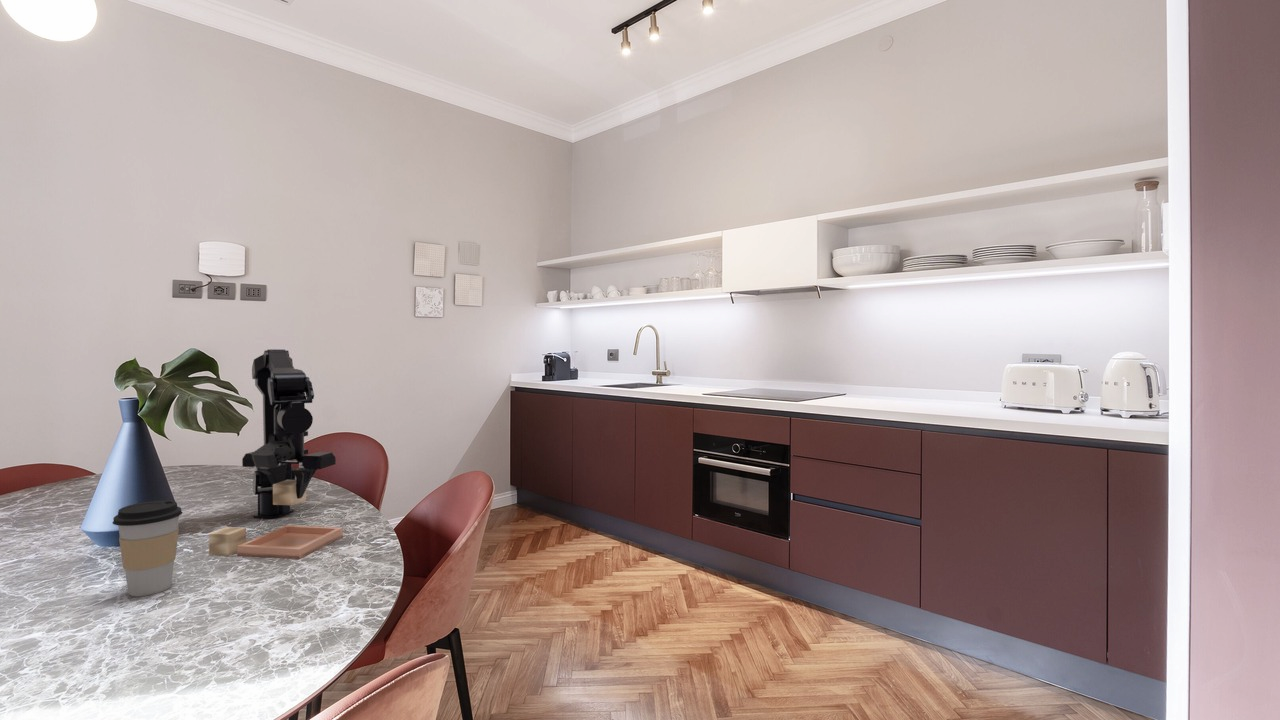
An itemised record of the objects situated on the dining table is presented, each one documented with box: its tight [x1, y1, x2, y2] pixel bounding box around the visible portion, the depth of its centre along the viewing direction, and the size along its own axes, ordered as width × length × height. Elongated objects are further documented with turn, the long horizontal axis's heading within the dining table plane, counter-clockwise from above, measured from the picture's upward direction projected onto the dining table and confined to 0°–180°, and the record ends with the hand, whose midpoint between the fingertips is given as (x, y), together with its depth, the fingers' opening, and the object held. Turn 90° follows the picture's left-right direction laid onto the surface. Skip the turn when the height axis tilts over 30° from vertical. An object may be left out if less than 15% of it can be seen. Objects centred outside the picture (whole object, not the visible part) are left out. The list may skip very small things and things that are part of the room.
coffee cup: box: [112, 500, 183, 597], centre depth 102 cm, size 9×9×15 cm
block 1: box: [208, 526, 247, 557], centre depth 121 cm, size 4×4×4 cm
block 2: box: [273, 479, 307, 506], centre depth 128 cm, size 4×4×4 cm
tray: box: [236, 524, 344, 560], centre depth 125 cm, size 14×14×2 cm
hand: (289, 497), depth 128 cm, fingers closed on block 2, 4 cm apart
